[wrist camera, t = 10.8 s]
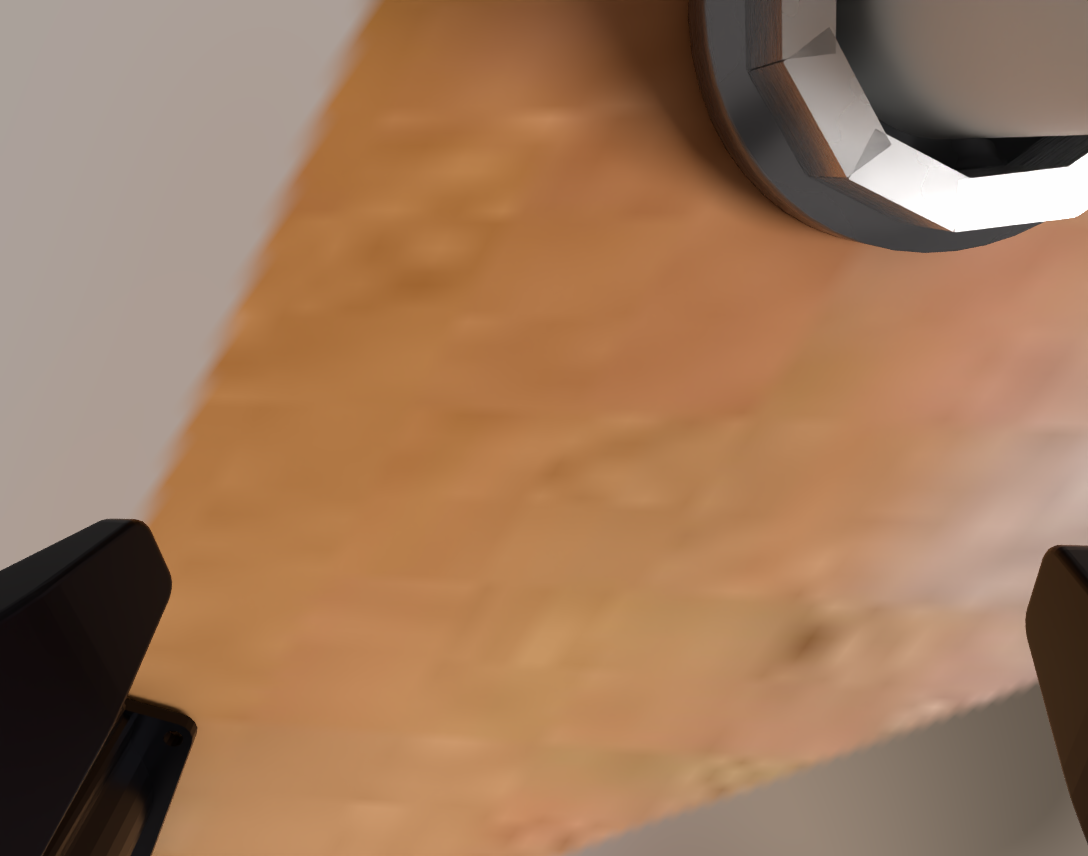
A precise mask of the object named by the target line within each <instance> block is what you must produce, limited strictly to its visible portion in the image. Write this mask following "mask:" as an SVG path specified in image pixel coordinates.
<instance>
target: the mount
mask: <svg viewBox="0 0 1088 856" xmlns="http://www.w3.org/2000/svg"><path fill="white" fill-rule="evenodd" d="M688 20H689V29H690V39H691V49H692V57H693V61H694V65H695V70H696V74H697V79H698V83H699V88H700V91H701V93H702V96H703V99H704V102H705V105H706V107H707V110H708V113H709V116H710V118H711V121H712V123H713V125H714V126H715V128H716V130H717V132H718V134H719V136H720V138H721V140H722V142H723V144H724V146H725V148H726V149H727V151H728V152H729V154H730V155H731V156H732V158H733V159H734V161H735V162H736V163H737V165H738V166H739V168H740V169H741V171H742V172H743V173H744V174H745V175H746V177H747V178H748V179H749V180H750V181H751V182H752V183H753V184H754V185H755V186H756V187H757V188H758V189H759V190H760V192H761V193H762V194H763V195H765V196H766V197H767V198H768V199H770V200H771V201H772V202H773V203H775V204H776V205H777V206H778V207H780V208H781V209H782V210H783V211H785V212H786V213H788V214H789V215H791V216H793V217H794V218H796V219H798V220H800V221H801V222H803V223H805V224H807V225H808V226H810V227H812V228H815V229H817V230H820V231H822V232H825V233H828V234H830V235H833V236H835V237H839V238H843V239H847V240H852V241H856V242H860V243H864V244H869V245H873V246H878V247H882V248H887V249H891V250H897V251H909V252H921V253H929V252H947V251H958V250H963V249H968V248H973V247H978V246H984V245H987V244H990V243H993V242H996V241H1000V240H1003V239H1006V238H1009V237H1012V236H1015V235H1017V234H1019V233H1021V232H1024V231H1026V230H1028V229H1030V228H1032V227H1034V226H1036V225H1038V224H1041V223H1043V222H1045V221H1049V220H1057V219H1065V218H1073V217H1075V216H1078V215H1080V214H1081V213H1083V212H1084V211H1085V210H1087V209H1088V135H1066V136H1034V137H1002V138H970V139H931V138H924V137H918V136H914V135H911V134H908V133H905V132H902V131H900V130H898V129H895V128H893V127H891V126H889V125H887V124H886V123H884V122H883V121H881V120H880V119H879V118H877V116H876V114H875V112H874V111H873V109H872V107H871V105H870V103H869V101H868V99H867V97H866V95H865V93H864V92H863V90H862V88H861V86H860V84H859V82H858V80H857V78H856V76H855V74H854V73H853V71H852V69H851V67H850V65H849V63H848V61H847V59H846V57H845V55H844V54H843V52H842V50H841V48H840V46H839V44H838V42H837V40H836V0H689V13H688Z"/></svg>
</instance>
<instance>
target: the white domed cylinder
mask: <svg viewBox="0 0 1088 856" xmlns="http://www.w3.org/2000/svg"><path fill="white" fill-rule="evenodd" d="M836 40H837V42H838V44H839V46H840V48H841V50H842V52H843V54H844V55H845V57H846V59H847V61H848V63H849V65H850V67H851V69H852V71H853V73H854V74H855V76H856V78H857V80H858V82H859V84H860V86H861V88H862V90H863V92H864V93H865V95H866V97H867V99H868V101H869V103H870V105H871V107H872V109H873V111H874V112H875V114H876V116H877V118H879V119H880V120H881V121H883V122H884V123H886V124H887V125H889V126H891V127H893V128H895V129H898V130H900V131H902V132H905V133H908V134H911V135H914V136H918V137H924V138H931V139H970V138H1002V137H1034V136H1066V135H1088V0H836Z"/></svg>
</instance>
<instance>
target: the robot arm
mask: <svg viewBox="0 0 1088 856" xmlns="http://www.w3.org/2000/svg"><path fill="white" fill-rule="evenodd" d="M171 589H172V580H171V575H170V572H169V570H168V567H167V565H166V563H165V561H164V558H163V556H162V554H161V552H160V550H159V547H158V545H157V543H156V541H155V539H154V536H153V534H152V532H151V530H150V528H149V527H148V526H147V525H146V524H145V523H144V522H143V521H139V520H136V519H105V520H101V521H99V522H97V523H95V524H93V525H91V526H89V527H87V528H85V529H83V530H81V531H79V532H77V533H75V534H73V535H71V536H69V537H67V538H65V539H63V540H61V541H59V542H57V543H55V544H53V545H51V546H49V547H47V548H45V549H43V550H41V551H39V552H37V553H35V554H33V555H31V556H29V557H27V558H25V559H23V560H21V561H19V562H17V563H15V564H13V565H11V566H9V567H7V568H5V569H3V570H1V571H0V856H152V853H153V850H154V848H155V845H156V842H157V840H158V837H159V834H160V831H161V829H162V826H163V823H164V821H165V818H166V815H167V812H168V810H169V807H170V804H171V802H172V799H173V796H174V793H175V791H176V788H177V785H178V783H179V780H180V777H181V775H182V772H183V769H184V766H185V764H186V761H187V758H188V756H189V753H190V750H191V747H192V745H193V742H194V739H195V737H196V734H197V726H196V724H195V722H194V721H193V720H192V719H191V718H190V717H188V716H186V715H184V714H180V713H177V712H173V711H169V710H166V709H162V708H158V707H155V706H151V705H148V704H144V703H140V702H137V701H133V700H130V699H126V697H127V695H128V693H129V690H130V688H131V686H132V684H133V681H134V679H135V677H136V674H137V672H138V670H139V667H140V665H141V663H142V660H143V658H144V656H145V654H146V651H147V649H148V647H149V644H150V642H151V640H152V637H153V635H154V633H155V630H156V628H157V626H158V624H159V621H160V619H161V617H162V614H163V612H164V610H165V607H166V605H167V603H168V600H169V598H170V594H171ZM1025 622H1026V635H1027V639H1028V643H1029V647H1030V651H1031V655H1032V658H1033V662H1034V666H1035V670H1036V673H1037V677H1038V681H1039V685H1040V688H1041V692H1042V696H1043V700H1044V703H1045V707H1046V711H1047V715H1048V718H1049V722H1050V726H1051V729H1052V733H1053V737H1054V741H1055V744H1056V748H1057V752H1058V756H1059V760H1060V763H1061V767H1062V771H1063V774H1064V778H1065V781H1066V784H1067V787H1068V791H1069V794H1070V798H1071V800H1072V803H1073V806H1074V809H1075V812H1076V814H1077V817H1078V820H1079V823H1080V825H1081V828H1082V831H1083V833H1084V835H1085V838H1086V841H1087V843H1088V546H1080V545H1056V546H1054V547H1051V548H1050V549H1048V551H1047V552H1046V553H1045V555H1044V557H1043V559H1042V563H1041V566H1040V569H1039V572H1038V576H1037V579H1036V582H1035V585H1034V588H1033V592H1032V595H1031V598H1030V601H1029V604H1028V608H1027V612H1026V620H1025ZM170 731H176V732H178V733H180V734H181V735H182V736H175V735H173V734H171V733H170Z"/></svg>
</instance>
